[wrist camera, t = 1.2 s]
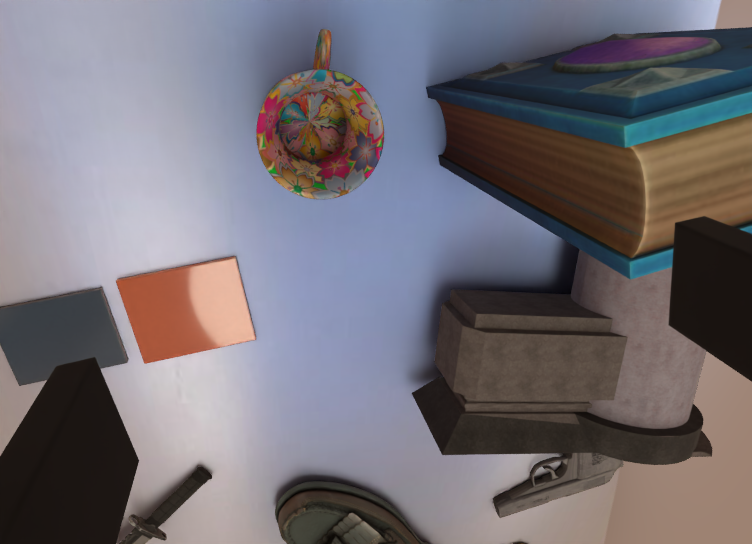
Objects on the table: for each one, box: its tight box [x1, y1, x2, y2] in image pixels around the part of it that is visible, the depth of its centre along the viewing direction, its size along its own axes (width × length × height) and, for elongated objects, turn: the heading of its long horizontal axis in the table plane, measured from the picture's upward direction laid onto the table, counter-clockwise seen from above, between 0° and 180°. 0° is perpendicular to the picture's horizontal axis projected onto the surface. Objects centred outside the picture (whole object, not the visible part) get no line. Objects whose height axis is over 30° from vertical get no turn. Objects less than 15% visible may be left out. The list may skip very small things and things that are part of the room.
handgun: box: [493, 453, 623, 518], centre depth 70 cm, size 2×18×12 cm
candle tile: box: [0, 287, 128, 386], centre depth 53 cm, size 8×10×1 cm
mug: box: [257, 29, 384, 199], centre depth 45 cm, size 12×9×11 cm
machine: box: [412, 250, 712, 465], centre depth 55 cm, size 30×16×24 cm
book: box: [426, 27, 752, 280], centre depth 40 cm, size 24×9×30 cm, turn 103°
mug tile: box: [116, 256, 256, 364], centre depth 54 cm, size 9×11×1 cm
